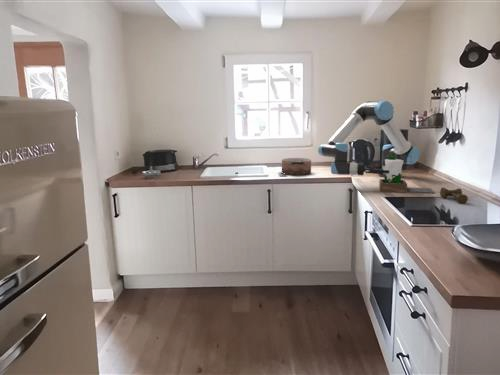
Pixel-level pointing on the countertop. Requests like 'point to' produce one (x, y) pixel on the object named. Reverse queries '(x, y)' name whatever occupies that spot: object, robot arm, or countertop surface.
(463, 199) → the kendama
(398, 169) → the soya milk
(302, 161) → the wicker basket
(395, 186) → the collar
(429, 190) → the rubber mat
